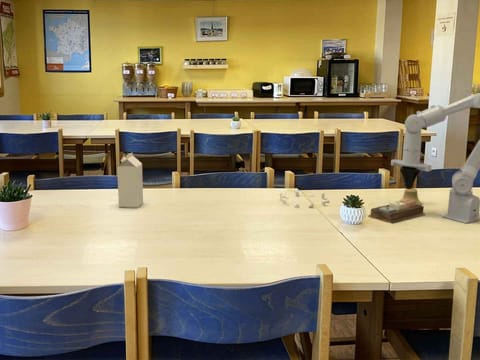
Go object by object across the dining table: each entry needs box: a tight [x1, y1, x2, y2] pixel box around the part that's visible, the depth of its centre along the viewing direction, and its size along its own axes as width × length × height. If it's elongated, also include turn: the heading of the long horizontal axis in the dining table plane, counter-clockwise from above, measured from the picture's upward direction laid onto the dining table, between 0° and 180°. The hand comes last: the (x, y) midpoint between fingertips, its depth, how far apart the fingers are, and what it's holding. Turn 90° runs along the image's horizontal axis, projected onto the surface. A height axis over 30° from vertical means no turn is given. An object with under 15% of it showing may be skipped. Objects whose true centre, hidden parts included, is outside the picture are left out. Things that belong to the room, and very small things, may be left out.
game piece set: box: [277, 188, 330, 209], centre depth 208 cm, size 19×20×4 cm
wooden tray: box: [368, 204, 426, 224], centre depth 189 cm, size 10×18×3 cm, turn 127°
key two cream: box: [388, 200, 406, 211], centre depth 189 cm, size 4×4×3 cm
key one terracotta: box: [399, 199, 416, 208], centre depth 192 cm, size 4×4×3 cm
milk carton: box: [116, 152, 144, 209], centre depth 198 cm, size 7×7×19 cm
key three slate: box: [379, 207, 396, 213], centre depth 186 cm, size 4×4×3 cm
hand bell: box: [398, 166, 422, 206], centre depth 205 cm, size 8×8×16 cm
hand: (408, 188), depth 191 cm, fingers closed
